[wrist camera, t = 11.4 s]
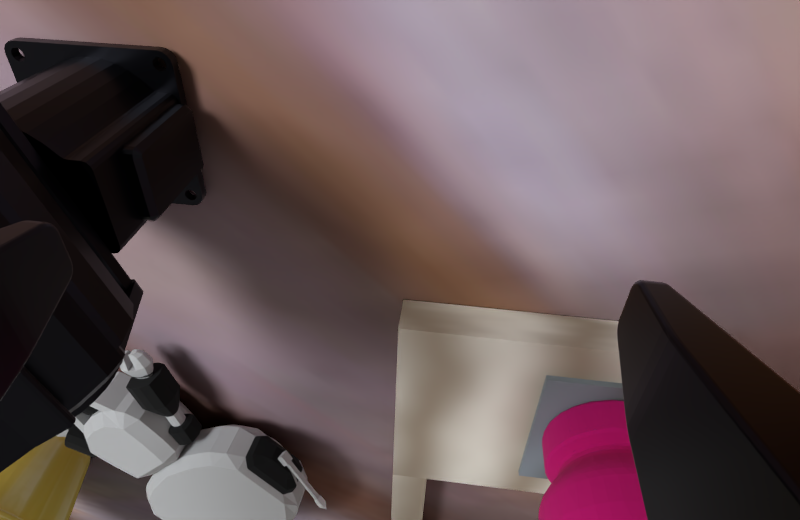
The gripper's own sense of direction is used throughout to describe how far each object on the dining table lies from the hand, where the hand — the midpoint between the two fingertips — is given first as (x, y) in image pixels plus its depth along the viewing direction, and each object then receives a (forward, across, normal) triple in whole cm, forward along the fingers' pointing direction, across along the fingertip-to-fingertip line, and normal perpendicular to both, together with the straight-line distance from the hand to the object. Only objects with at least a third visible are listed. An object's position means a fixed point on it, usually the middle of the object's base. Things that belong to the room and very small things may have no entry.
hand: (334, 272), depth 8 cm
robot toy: (+13, +13, +25) cm, 31 cm away
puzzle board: (+13, -8, +23) cm, 27 cm away
